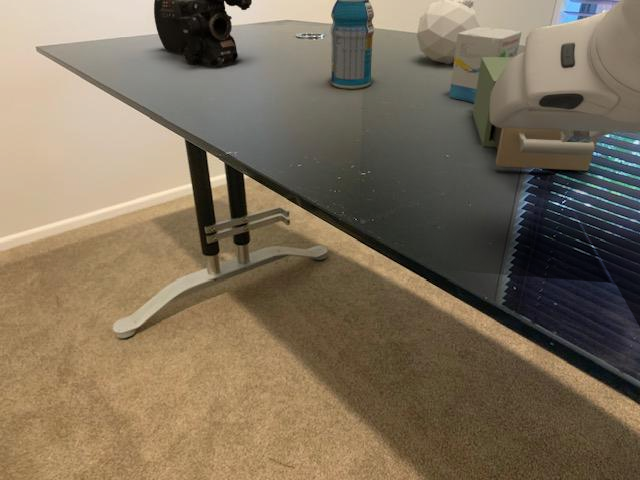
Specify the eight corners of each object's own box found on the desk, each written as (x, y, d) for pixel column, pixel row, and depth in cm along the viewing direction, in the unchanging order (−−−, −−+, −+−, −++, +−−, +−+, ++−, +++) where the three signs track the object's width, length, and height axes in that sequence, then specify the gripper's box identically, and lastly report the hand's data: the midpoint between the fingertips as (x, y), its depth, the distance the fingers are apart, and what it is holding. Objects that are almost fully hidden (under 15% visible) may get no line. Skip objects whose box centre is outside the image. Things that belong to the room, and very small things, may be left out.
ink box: (489, 106, 90) (501, 38, 84) (447, 97, 95) (455, 32, 89) (510, 95, 96) (523, 30, 89) (469, 87, 101) (479, 25, 94)
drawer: (598, 185, 61) (618, 123, 57) (501, 180, 63) (513, 119, 59) (562, 133, 76) (575, 81, 72) (484, 130, 78) (492, 79, 73)
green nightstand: (572, 150, 73) (590, 83, 68) (482, 146, 75) (493, 80, 70) (549, 117, 85) (563, 58, 80) (472, 114, 87) (481, 56, 82)
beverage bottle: (341, 92, 99) (343, -22, 88) (323, 81, 106) (323, -26, 95) (379, 86, 102) (384, -25, 91) (359, 76, 108) (362, -28, 98)
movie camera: (271, 57, 122) (261, -25, 112) (208, 74, 112) (191, -13, 103) (203, 44, 142) (189, -26, 132) (144, 58, 132) (125, -17, 123)
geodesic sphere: (498, 31, 119) (468, -24, 115) (493, 43, 107) (459, -17, 104) (443, 67, 127) (412, 17, 124) (432, 82, 116) (399, 27, 112)
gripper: (775, 32, 40) (676, 113, 54) (510, 28, 43) (479, 106, 57) (783, 104, 39) (680, 168, 52) (509, 95, 42) (478, 158, 55)
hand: (574, 136), depth 55 cm, fingers closed
